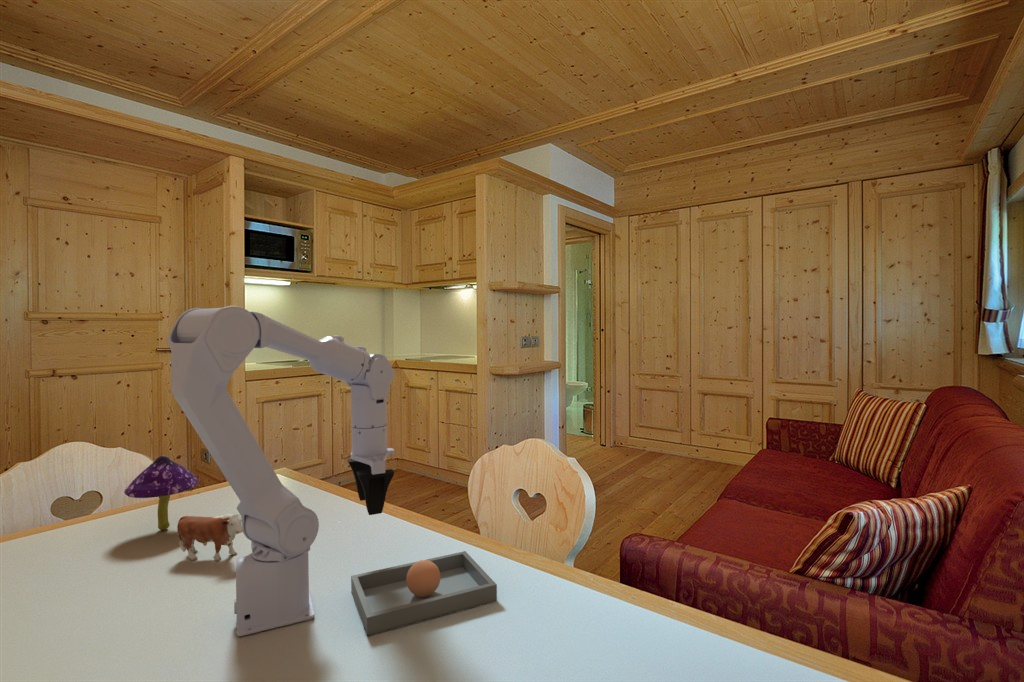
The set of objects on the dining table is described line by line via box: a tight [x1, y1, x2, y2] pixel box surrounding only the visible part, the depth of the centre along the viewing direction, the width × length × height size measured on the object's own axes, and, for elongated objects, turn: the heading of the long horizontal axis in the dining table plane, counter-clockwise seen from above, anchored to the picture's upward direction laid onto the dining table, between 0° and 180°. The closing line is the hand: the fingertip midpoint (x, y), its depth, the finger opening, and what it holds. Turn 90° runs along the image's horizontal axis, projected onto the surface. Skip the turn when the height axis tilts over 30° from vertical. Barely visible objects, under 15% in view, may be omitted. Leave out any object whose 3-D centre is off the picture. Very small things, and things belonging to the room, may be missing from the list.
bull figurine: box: [176, 513, 243, 562], centre depth 90 cm, size 4×13×8 cm, turn 78°
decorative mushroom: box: [123, 455, 200, 531], centre depth 102 cm, size 12×12×15 cm
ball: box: [406, 559, 440, 597], centre depth 76 cm, size 5×5×5 cm
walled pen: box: [350, 550, 498, 637], centre depth 76 cm, size 19×13×2 cm
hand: (370, 506), depth 85 cm, fingers open, 7 cm apart
